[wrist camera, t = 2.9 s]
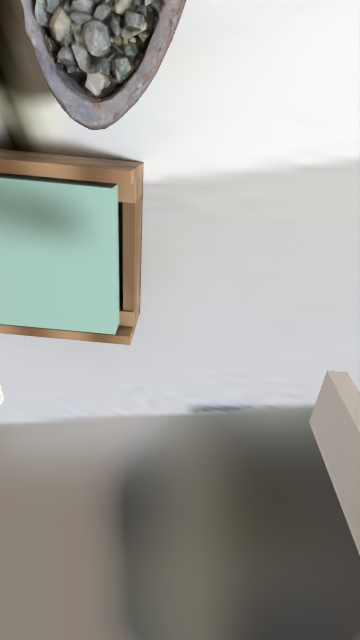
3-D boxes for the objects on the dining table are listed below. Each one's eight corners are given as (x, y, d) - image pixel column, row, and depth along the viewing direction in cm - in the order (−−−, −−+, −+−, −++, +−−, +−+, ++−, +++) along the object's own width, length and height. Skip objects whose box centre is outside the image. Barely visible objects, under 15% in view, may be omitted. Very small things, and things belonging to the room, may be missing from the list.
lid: (-58, 306, 32) (-80, 323, 29) (-104, 163, 25) (-138, 167, 23) (119, 323, 32) (112, 340, 29) (117, 183, 25) (108, 190, 23)
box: (-27, 297, 36) (-65, 327, 31) (-67, 142, 29) (-127, 147, 23) (139, 312, 36) (130, 344, 31) (143, 162, 29) (131, 171, 23)
